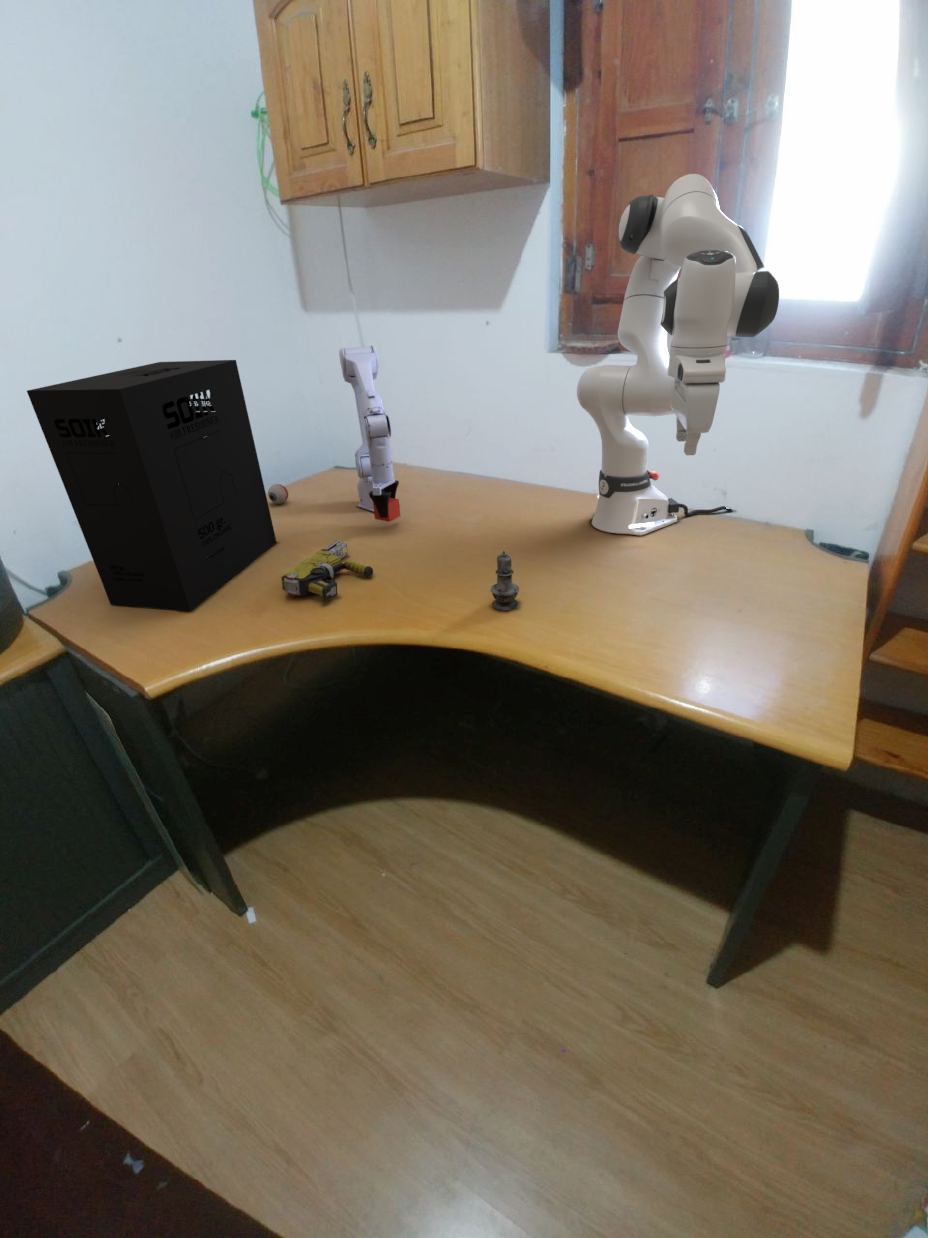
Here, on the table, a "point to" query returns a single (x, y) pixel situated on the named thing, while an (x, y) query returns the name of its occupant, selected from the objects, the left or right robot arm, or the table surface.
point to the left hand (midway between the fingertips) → (387, 512)
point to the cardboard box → (160, 478)
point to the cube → (393, 510)
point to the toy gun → (321, 572)
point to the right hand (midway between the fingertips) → (685, 447)
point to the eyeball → (278, 493)
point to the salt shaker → (504, 585)
